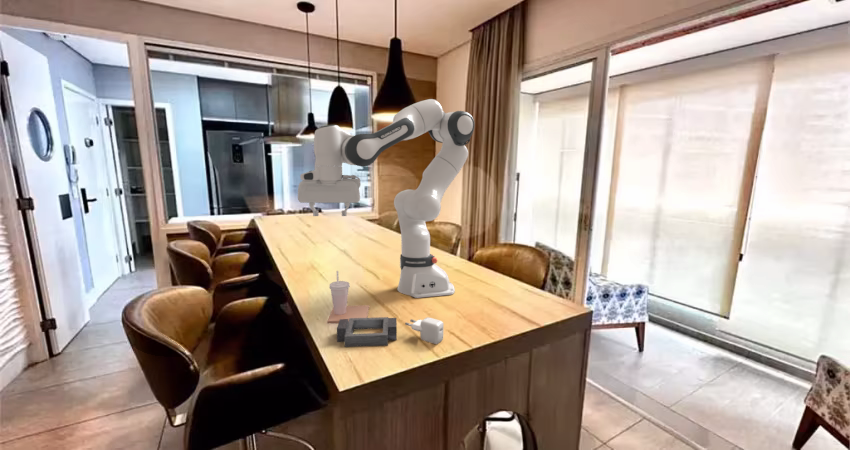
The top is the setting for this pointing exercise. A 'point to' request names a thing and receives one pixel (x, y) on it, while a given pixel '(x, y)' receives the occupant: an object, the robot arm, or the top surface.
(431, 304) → the top surface
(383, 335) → the grey rectangular frame
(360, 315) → the coaster
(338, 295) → the smoothie
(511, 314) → the top surface
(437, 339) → the power adapter
